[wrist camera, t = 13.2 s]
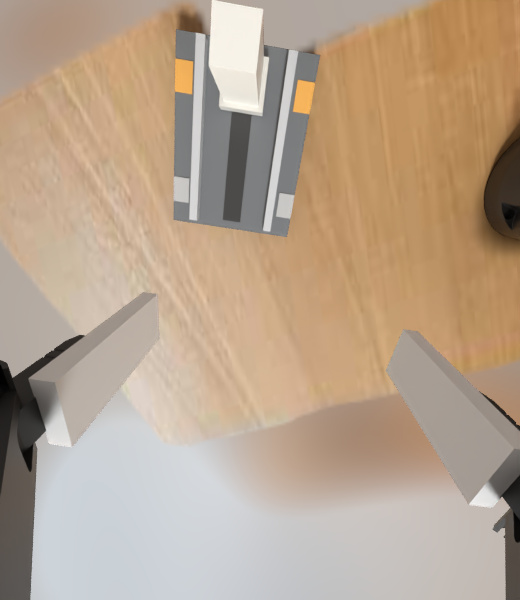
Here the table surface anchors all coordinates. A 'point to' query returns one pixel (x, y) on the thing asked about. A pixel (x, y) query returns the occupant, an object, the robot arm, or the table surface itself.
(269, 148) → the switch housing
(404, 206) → the table surface
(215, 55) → the switch slider
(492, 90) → the table surface
